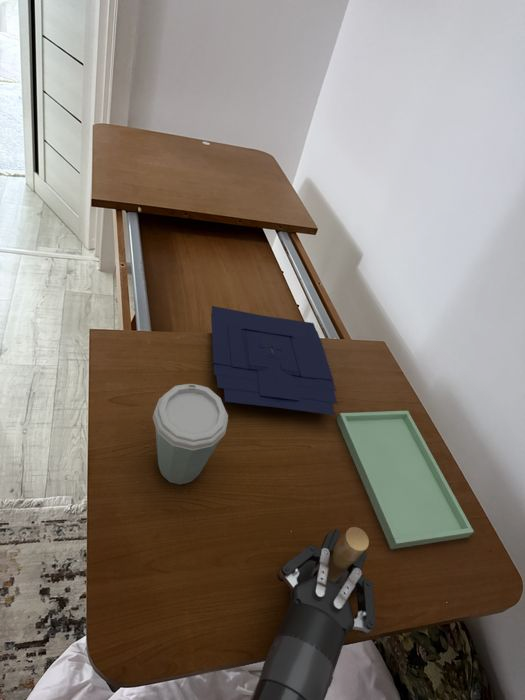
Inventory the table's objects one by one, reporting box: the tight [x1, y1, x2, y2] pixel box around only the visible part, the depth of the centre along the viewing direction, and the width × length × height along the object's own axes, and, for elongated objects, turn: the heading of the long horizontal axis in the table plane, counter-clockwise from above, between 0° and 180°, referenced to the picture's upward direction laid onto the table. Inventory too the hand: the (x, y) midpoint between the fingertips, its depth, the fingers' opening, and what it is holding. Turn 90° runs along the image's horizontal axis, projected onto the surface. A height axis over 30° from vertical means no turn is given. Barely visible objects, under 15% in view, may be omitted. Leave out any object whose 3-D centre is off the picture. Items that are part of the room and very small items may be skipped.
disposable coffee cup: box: [152, 383, 229, 486], centre depth 75 cm, size 11×11×15 cm
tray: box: [335, 410, 475, 550], centre depth 91 cm, size 26×16×2 cm, turn 15°
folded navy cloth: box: [210, 305, 338, 416], centre depth 102 cm, size 24×30×4 cm
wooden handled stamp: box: [297, 526, 370, 594], centre depth 69 cm, size 5×10×13 cm, turn 104°
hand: (348, 540), depth 71 cm, fingers closed on wooden handled stamp, 3 cm apart
